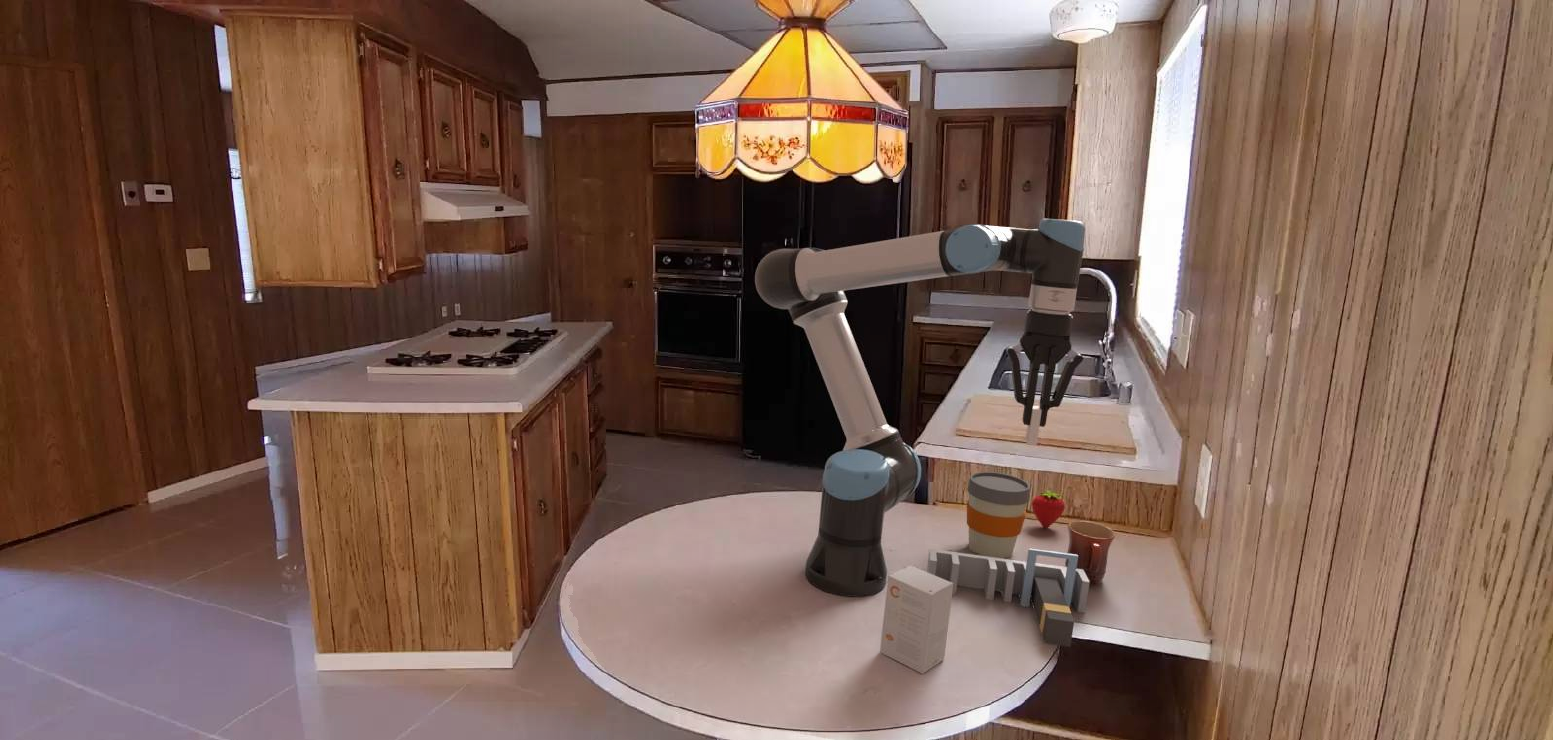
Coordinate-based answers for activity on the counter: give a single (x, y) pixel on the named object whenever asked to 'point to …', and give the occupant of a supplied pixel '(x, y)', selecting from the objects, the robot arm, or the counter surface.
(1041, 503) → the strawberry
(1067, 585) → the blue bezel
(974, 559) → the grey slotted rack
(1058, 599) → the grey banded bar
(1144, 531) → the counter surface
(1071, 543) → the mug
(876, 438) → the robot arm
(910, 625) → the small box
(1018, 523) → the reusable coffee cup
